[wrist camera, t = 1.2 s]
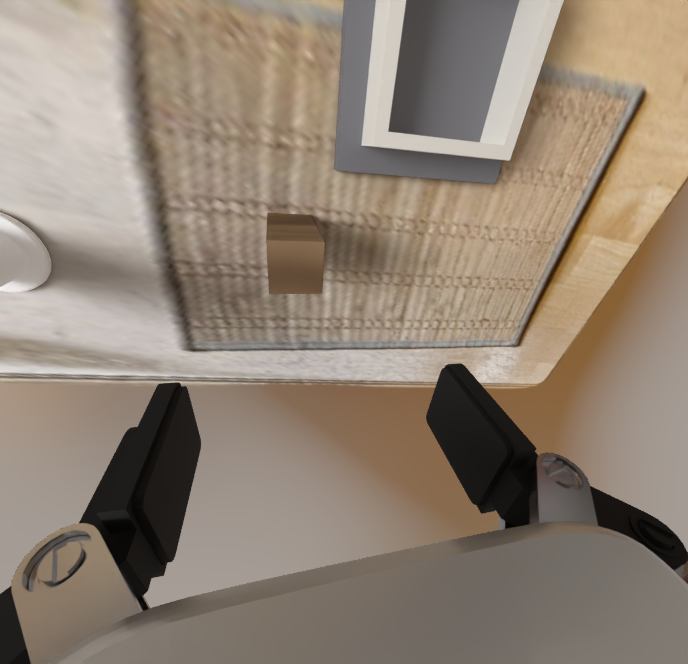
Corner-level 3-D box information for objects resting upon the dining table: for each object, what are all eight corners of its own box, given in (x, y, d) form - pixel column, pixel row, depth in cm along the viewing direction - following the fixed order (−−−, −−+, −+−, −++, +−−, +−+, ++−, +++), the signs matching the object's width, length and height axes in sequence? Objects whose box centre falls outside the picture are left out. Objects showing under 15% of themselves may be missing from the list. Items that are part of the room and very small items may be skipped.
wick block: (267, 212, 27) (266, 240, 20) (310, 215, 28) (324, 242, 21) (269, 255, 29) (269, 293, 22) (309, 255, 30) (322, 293, 23)
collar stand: (351, -130, 18) (374, -205, 14) (564, -63, 21) (629, -108, 17) (334, 169, 26) (344, 174, 22) (488, 182, 30) (520, 188, 26)
